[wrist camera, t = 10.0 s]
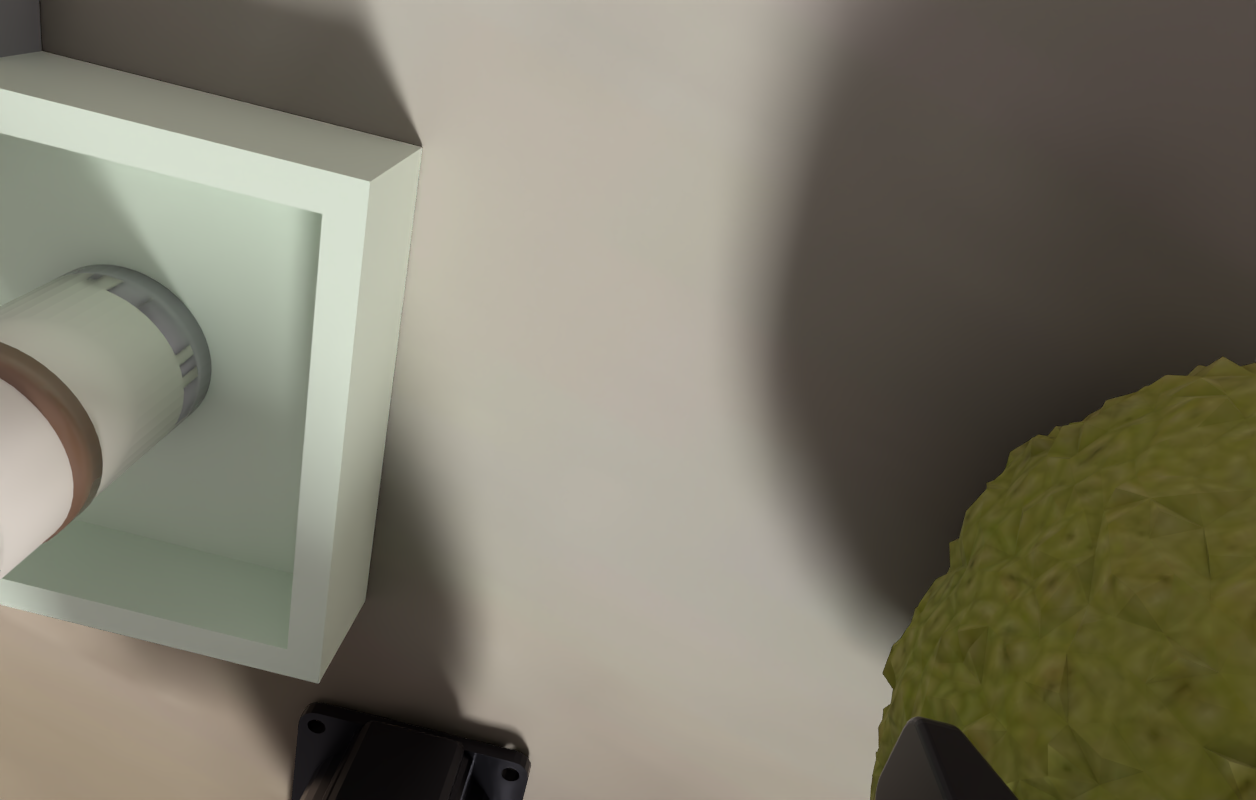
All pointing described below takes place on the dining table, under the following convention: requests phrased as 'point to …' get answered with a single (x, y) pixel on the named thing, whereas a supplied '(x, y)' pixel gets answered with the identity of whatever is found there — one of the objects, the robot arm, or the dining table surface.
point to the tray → (219, 353)
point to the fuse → (87, 393)
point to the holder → (19, 27)
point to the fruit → (1104, 605)
